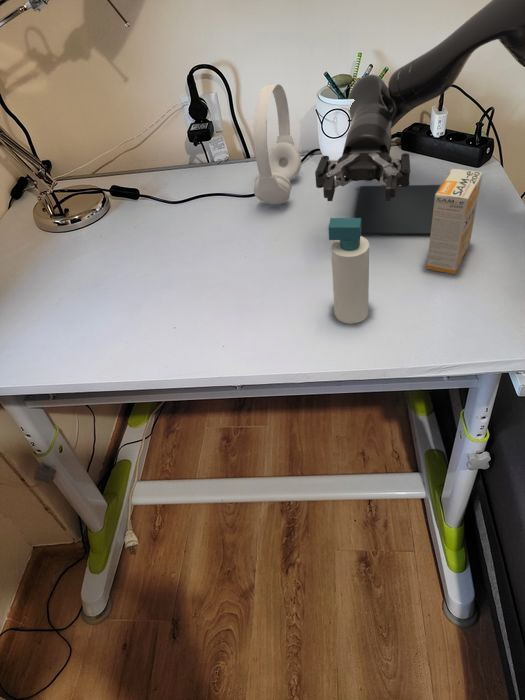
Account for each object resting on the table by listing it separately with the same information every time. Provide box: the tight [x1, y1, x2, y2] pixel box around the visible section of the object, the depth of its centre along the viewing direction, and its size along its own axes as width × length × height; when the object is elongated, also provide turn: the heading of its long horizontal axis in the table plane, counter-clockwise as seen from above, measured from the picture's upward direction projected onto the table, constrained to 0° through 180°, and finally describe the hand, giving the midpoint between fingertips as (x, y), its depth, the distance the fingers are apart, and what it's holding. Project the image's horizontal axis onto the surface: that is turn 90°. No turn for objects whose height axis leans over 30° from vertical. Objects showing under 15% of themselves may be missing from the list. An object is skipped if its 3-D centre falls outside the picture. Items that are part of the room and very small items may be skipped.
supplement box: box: [426, 168, 484, 275], centre depth 77 cm, size 8×5×13 cm, turn 150°
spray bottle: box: [327, 217, 370, 325], centre depth 70 cm, size 5×5×16 cm
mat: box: [354, 184, 442, 237], centre depth 92 cm, size 16×16×1 cm
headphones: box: [253, 83, 302, 205], centre depth 96 cm, size 7×18×20 cm, turn 166°
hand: (358, 195), depth 75 cm, fingers open, 8 cm apart
